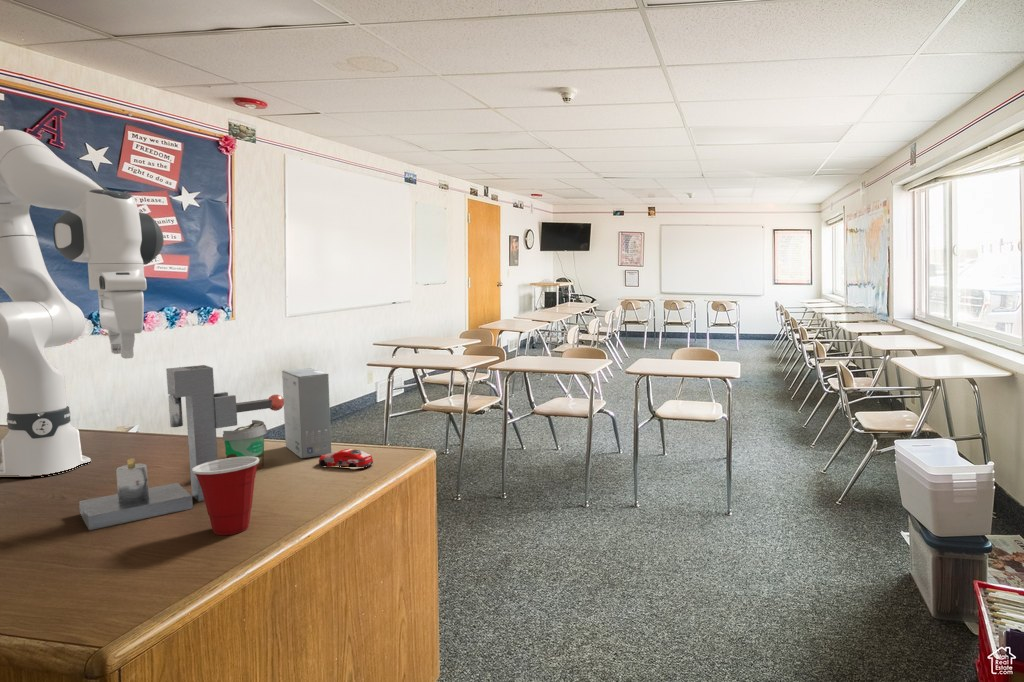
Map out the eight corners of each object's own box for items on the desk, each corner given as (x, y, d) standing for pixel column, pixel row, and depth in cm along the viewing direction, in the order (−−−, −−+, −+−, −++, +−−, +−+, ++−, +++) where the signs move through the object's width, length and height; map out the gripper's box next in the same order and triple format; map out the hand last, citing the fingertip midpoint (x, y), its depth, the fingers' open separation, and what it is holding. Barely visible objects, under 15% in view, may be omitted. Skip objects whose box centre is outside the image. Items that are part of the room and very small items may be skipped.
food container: (249, 477, 153) (247, 432, 152) (224, 476, 154) (221, 431, 153) (279, 461, 165) (277, 420, 164) (255, 460, 166) (253, 419, 165)
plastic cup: (235, 514, 129) (232, 450, 128) (276, 524, 123) (273, 457, 122) (182, 534, 120) (177, 465, 118) (223, 545, 114) (219, 473, 113)
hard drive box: (332, 454, 170) (329, 373, 168) (301, 459, 166) (297, 376, 164) (314, 442, 183) (310, 367, 181) (284, 446, 179) (280, 369, 177)
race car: (313, 467, 160) (313, 450, 160) (328, 461, 165) (327, 445, 165) (362, 472, 156) (362, 455, 155) (376, 466, 161) (375, 449, 160)
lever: (212, 417, 141) (211, 401, 141) (281, 408, 150) (280, 392, 150) (217, 420, 139) (216, 403, 138) (287, 410, 147) (286, 394, 147)
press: (80, 514, 131) (68, 376, 128) (229, 484, 147) (221, 362, 145) (89, 530, 122) (77, 383, 120) (246, 497, 139) (238, 367, 136)
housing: (116, 498, 132) (113, 459, 131) (145, 492, 135) (142, 454, 134) (121, 504, 128) (118, 464, 127) (151, 498, 131) (148, 459, 130)
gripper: (88, 280, 133) (93, 352, 135) (107, 280, 117) (112, 362, 119) (125, 279, 137) (130, 349, 138) (148, 280, 121) (153, 359, 123)
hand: (122, 355), depth 128 cm, fingers open, 8 cm apart
